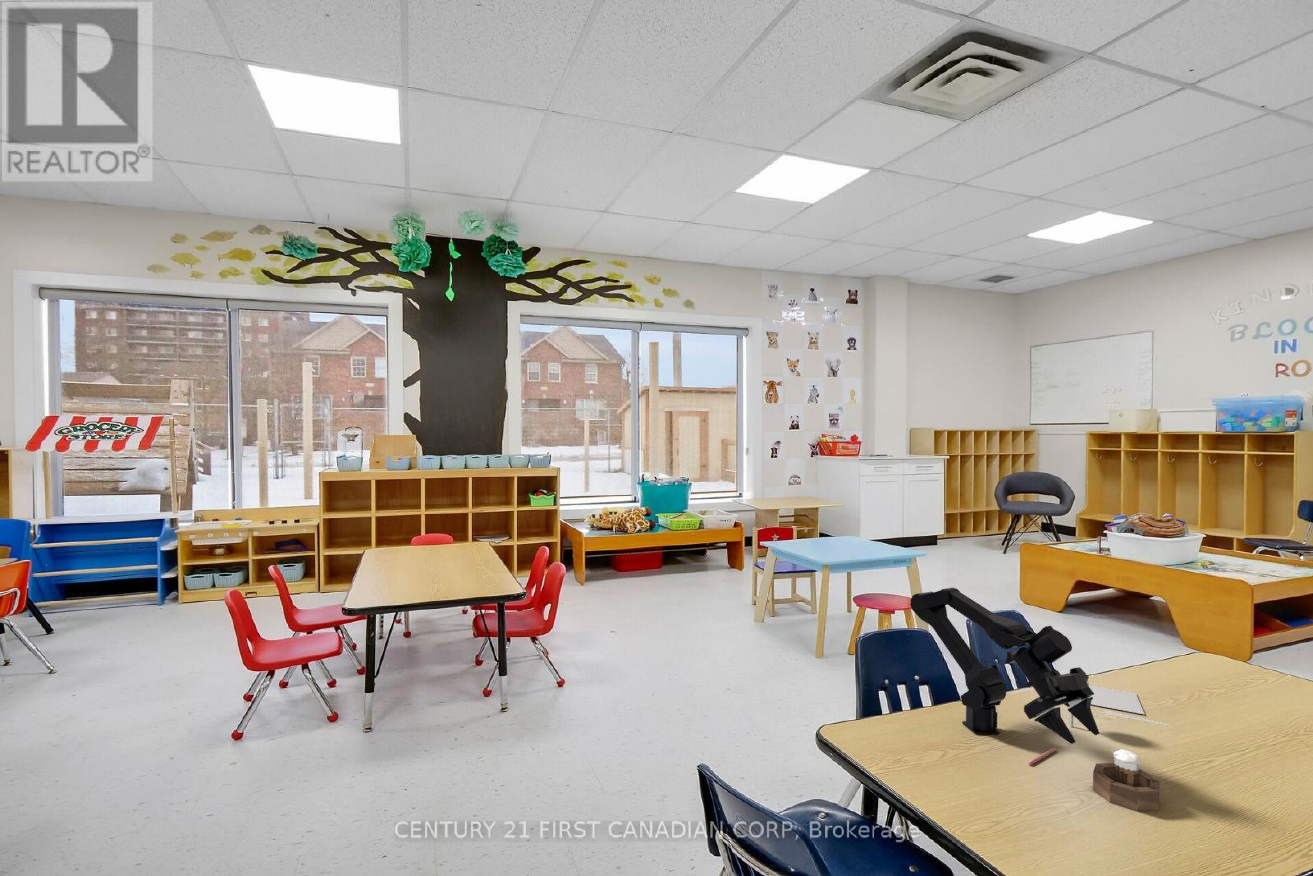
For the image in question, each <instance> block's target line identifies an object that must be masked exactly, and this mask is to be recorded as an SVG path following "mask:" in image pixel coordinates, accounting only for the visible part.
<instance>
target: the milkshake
mask: <svg viewBox="0 0 1313 876" xmlns="http://www.w3.org/2000/svg"><path fill="white" fill-rule="evenodd" d="M1109 747H1110V750H1111V752H1112V755H1113V761H1114V762H1113V763H1114V764H1115V772H1116V782H1118V783H1121V784H1125V785H1128V786H1131V787H1137V780H1138V773H1139V770H1140V765H1141V759H1140V757H1139V756H1138V755H1137V754H1135V753H1134V752H1132V751H1130V750H1126V749H1124V748H1123V749H1119V750H1116V751H1113V749H1112V746H1111V745H1110V746H1109Z"/></svg>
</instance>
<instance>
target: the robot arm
mask: <svg viewBox="0 0 1313 876" xmlns="http://www.w3.org/2000/svg"><path fill="white" fill-rule="evenodd" d="M909 604H910V608H911V610H912V611H913V612H914V614H916V616H917V617H918V618H919V620H921V621H923V622H924V623H926V624H928V625H929V626H930V627H932V629H933V630H934V632H935V633H936V635H937V636H938V637H939V639H940V641H941V643H942V644H943V645H944V647H946V649H947V651H948V652H949V653H950V655H951V657H952V658H953V659H954V661H955V662H956V664H957V666H958V667H959V668H960V670H961V671H962V672H963V674H964V680H965V685H966V689H967V691H965V692H963V694H961V695H960V701H961V702H962V705H963V706H965V720H962V722H961V723H962V724H963V725H964V726H965V727H966V728H968V730H970V731H971V732H972V733H974V734H975V735H999V734H1000V730H999V729H998V712H997V707H996V706H1000V704H1001V702H1002V701H1003V700H1005V699H1006V696H1007V691H1008V689H1007V686H1006V685H1005V683H1004V682H1005V680H1004V678H1002V677H1000V675H999V673H998V671H997V669H995V667H993V666H992V667H988V668H987V667H986V666H984V665H983V664H982V663H981V662H980V660H979V659H978V658H977V656H976V655H975V653H974V652H973V651H972V649H971V648H970V647H969V645H968V644H967V643H966V641H965V640H964V639H963V637H962V636H961V634H960V633H959V631H958V630H957V628H956V627H955V625H954V624H953V623H952V622H951V621H950V619H949V617H948V612H947V606H949V607H950V608H952V609H954V611H956V612H958V613H959V614H961V615H962V616H963V617H965V618H966V619H969V621H971V622H973V623H974V624H975V625H977V626H978V627H980V628H982V629H983V630H984V631H985V633H986V635H987V636H988V638H989V639H991V640H992V642H994V643H995V644H996V645H997V646H998V647H999V648H1001V649H1004V650H1008V649H1009V650H1010V649H1014V648H1018V647H1019V648H1018V649H1017V650H1016V651H1013V650H1011V651H1007V652H1006V657H1005V663H1006V664H1007V665H1009V664H1014V663H1015V664H1016V665H1017V667H1018V668H1019V670H1020V671H1021V673H1022V674H1023V675H1024V677H1025V678H1026V679H1027V680H1028V682H1026V684H1025V685H1026V686H1027V687H1028V688H1033V689H1034V691H1035V692H1036V693H1037V695H1038V697H1036V698H1035V699H1033V700H1032V701H1030V702H1028V703H1026V704H1024V705H1023V712H1024V714H1025V716H1026V717H1027V718H1028V719H1029V720H1031V719H1033V721H1034V722H1037V723H1039V724H1041V725H1042V726H1044V727H1045V728H1047V729H1049V730H1050V731H1052V732H1053V733H1054V734H1057V736H1060V738H1062V739H1064V740H1065V741H1066V742H1067V743H1069V744H1070V745H1073V744H1075V743H1076V740H1075V737H1074V736H1073V734H1072V732H1071V731H1070V729H1069V727H1068V726H1067V724H1066V723H1065V721H1064V719H1063V718H1062V716H1061V715H1062V714H1061V706H1062V705H1064V706H1065V707H1067V711H1068V712H1069V713H1071V714H1072V715H1073V718H1076V719H1077V720H1078V721H1079V722H1080V723H1081V724H1082V725H1083V726H1084V727H1085V728H1086V729H1087V730H1088V731H1090V732H1091V734H1093V735H1094V736H1098V735H1099V734H1100V731H1099V728H1098V726H1097V722H1096V720H1095V718H1094V715H1093V712H1092V708H1091V706H1092V704H1091V701H1092V700H1093V697H1090V696H1092V695H1094V693H1093V691H1092V690H1091V689H1090V687H1089V686H1088V684H1087V682H1086V681H1088V682H1089V678H1090V677H1089V675H1088V674H1087V673H1086V672H1085V671H1084V670H1083V668H1081V667H1080V666H1079V667H1072V668H1069V669H1070V674H1069V673H1068V674H1063V675H1061V674H1060V672H1059V670H1057V669H1056V668H1055V669H1051V668H1050V666H1049V664H1054V663H1055V662H1056V661H1058V660H1059V659H1061V658H1063V657H1064V656H1065V655H1067V654H1069V653H1071V652H1072V650H1073V646H1072V643H1071V641H1070V639H1069V638H1068V636H1065V635H1064V634H1063V633H1062V632H1060V631H1059V630H1056V629H1054V628H1053V626H1052V625H1046V626H1044V627H1043V628H1041V629H1040V631H1038V632H1037V633H1036V632H1034V631H1032V630H1029V629H1027V627H1026V626H1025V625H1024V624H1022V623H1020V622H1018V621H1016V620H1014V619H1011V618H1008V617H1004V616H1002V615H998V614H995V613H994V612H992V611H991V610H989V609H987V608H986V607H985V606H983V605H982V604H980V603H978V602H977V601H975V600H974V599H972V598H970V597H969V596H967V595H965V594H964V593H962V592H961V591H960V590H959V589H958V588H956V587H947V588H942V589H940V590H937V591H927V592H919V593H914V594H913V595H912V596H911V597H910V603H909ZM1028 645H1029V646H1028ZM1023 646H1028V647H1023ZM1089 697H1090V698H1089Z"/></svg>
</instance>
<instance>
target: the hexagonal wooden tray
mask: <svg viewBox="0 0 1313 876" xmlns="http://www.w3.org/2000/svg"><path fill="white" fill-rule="evenodd" d="M1092 775H1093V776H1092V780H1093V781H1092V791H1093V792H1095V793H1096V794H1097V795H1099V796H1100V797H1102V798H1103V799H1104V800H1106V801H1107V802H1108V803H1111V804H1113V805H1116V806H1119V807H1123V808H1126V809H1129V810H1133V811H1135V812H1152V811H1155V812H1156V811H1159V809H1160V792H1161V791H1160V788H1161V785H1160V784H1161V782H1160V781H1159V780H1158V779H1156V778H1154V777H1153V776H1152V775H1150V774H1148V773H1147V772H1145V771H1143V770H1142V769H1139V773H1138V780H1137V787H1131V786H1128V785H1125V784H1121V783H1118V782H1116V772H1115V764H1114V762H1102V763H1095V765H1094V768H1093V773H1092Z"/></svg>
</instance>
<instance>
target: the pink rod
mask: <svg viewBox="0 0 1313 876" xmlns="http://www.w3.org/2000/svg"><path fill="white" fill-rule="evenodd" d="M1056 751H1057V748H1056V747H1052V748H1050V749H1048V750H1047V751H1045V752H1043V753H1041V754H1040V755H1038V756H1036V757H1034V758H1032V759H1031V760H1030V761H1028V762H1027V764H1028V765H1029V766H1032V765H1034V764H1036V763H1037V762H1039V761H1041V760H1043V759H1044V758H1046V757H1048V756H1050V755H1051V754H1053V753H1055V752H1056Z"/></svg>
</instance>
